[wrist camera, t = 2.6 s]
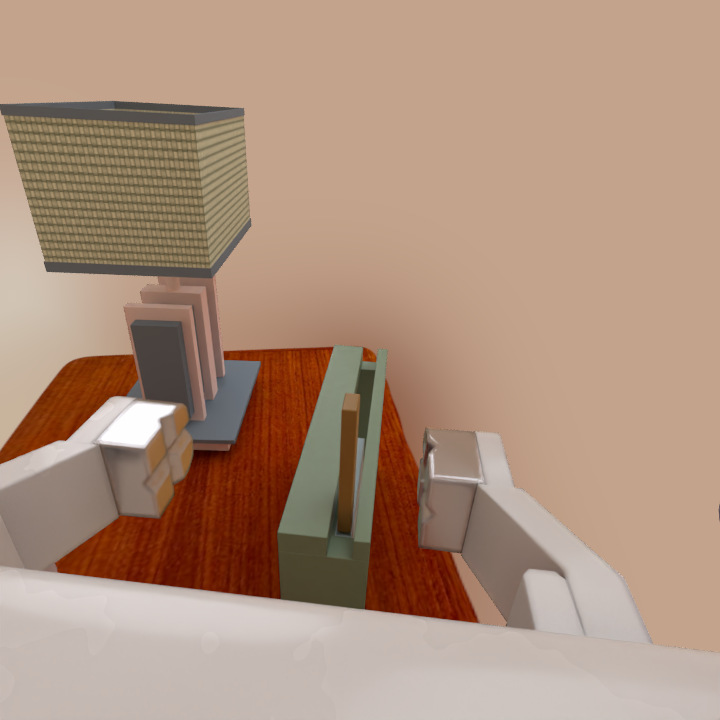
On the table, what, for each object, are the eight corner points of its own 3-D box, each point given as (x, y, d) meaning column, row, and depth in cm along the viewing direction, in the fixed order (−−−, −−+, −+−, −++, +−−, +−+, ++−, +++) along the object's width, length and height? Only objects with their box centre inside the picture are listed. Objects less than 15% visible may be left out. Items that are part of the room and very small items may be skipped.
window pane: (358, 536, 40) (372, 333, 31) (345, 643, 32) (359, 414, 23) (346, 534, 40) (356, 331, 31) (330, 641, 32) (338, 412, 23)
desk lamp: (159, 371, 65) (109, 100, 49) (262, 374, 66) (246, 108, 50) (97, 460, 49) (-6, 103, 33) (234, 464, 50) (198, 114, 34)
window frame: (377, 463, 51) (387, 349, 44) (357, 684, 32) (370, 542, 25) (331, 459, 51) (334, 344, 44) (284, 675, 32) (277, 532, 25)
